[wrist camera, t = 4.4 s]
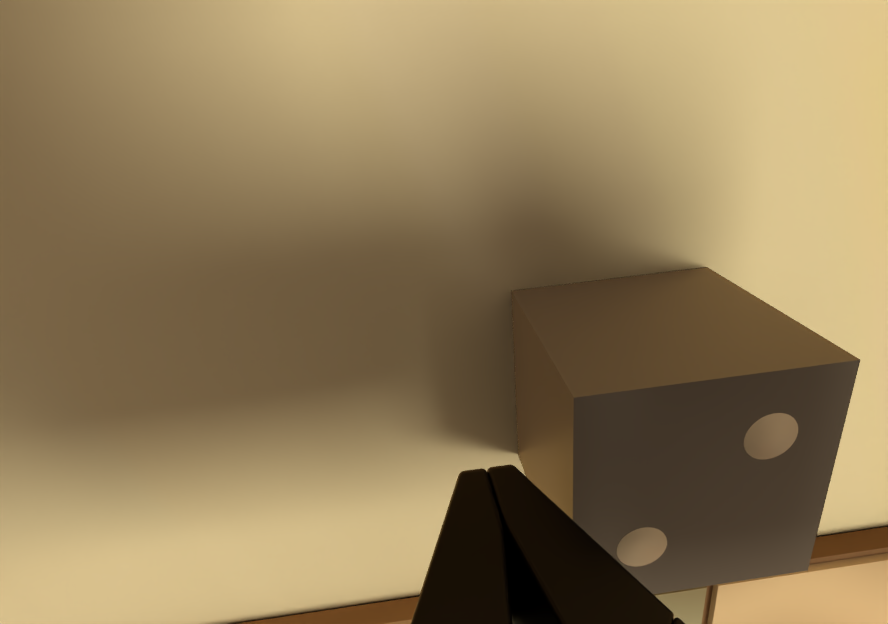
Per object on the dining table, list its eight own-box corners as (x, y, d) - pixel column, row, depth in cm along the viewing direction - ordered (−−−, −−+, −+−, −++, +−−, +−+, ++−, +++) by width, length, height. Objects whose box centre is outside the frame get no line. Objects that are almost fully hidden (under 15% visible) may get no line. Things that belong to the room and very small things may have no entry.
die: (686, 428, 13) (807, 571, 9) (517, 451, 13) (571, 607, 9) (704, 266, 11) (860, 359, 8) (510, 289, 11) (574, 398, 7)
